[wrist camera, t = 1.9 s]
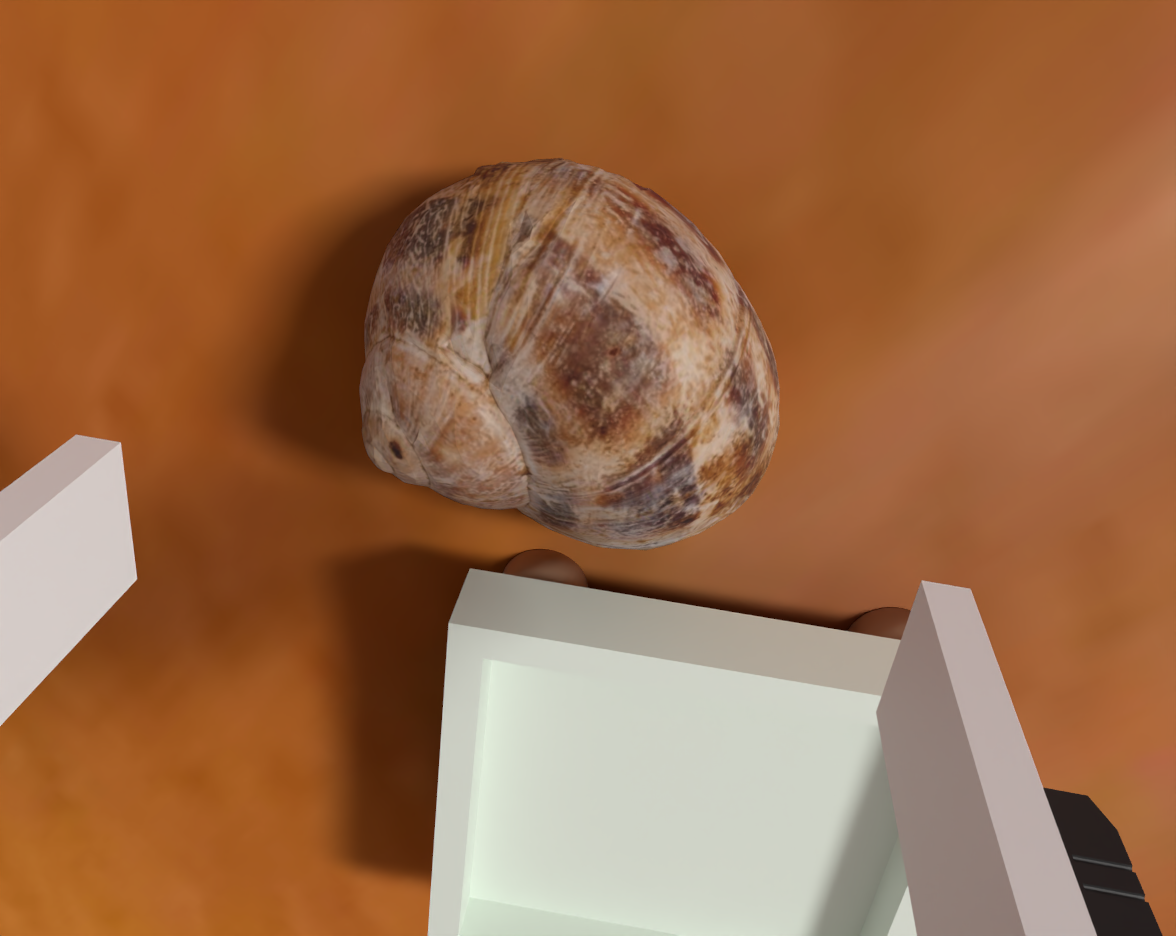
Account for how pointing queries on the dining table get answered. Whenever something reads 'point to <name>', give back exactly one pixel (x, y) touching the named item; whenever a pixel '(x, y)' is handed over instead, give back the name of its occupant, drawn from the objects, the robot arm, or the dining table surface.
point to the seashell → (567, 358)
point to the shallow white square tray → (659, 767)
